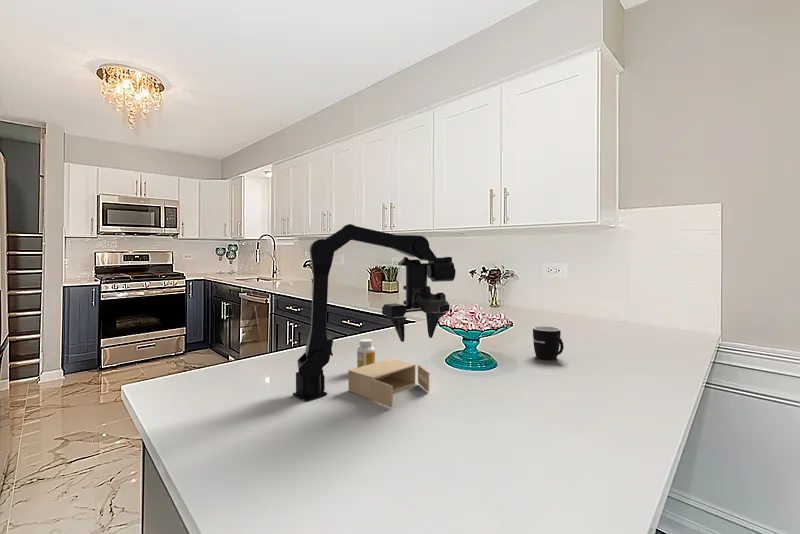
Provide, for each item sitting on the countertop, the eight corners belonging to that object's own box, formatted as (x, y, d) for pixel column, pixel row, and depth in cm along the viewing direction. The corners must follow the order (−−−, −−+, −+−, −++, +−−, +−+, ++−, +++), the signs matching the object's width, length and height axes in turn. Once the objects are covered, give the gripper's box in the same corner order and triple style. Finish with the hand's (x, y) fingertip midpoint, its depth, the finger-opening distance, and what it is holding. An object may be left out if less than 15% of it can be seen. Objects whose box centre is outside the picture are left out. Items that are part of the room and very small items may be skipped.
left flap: (371, 399, 104) (371, 379, 104) (373, 398, 104) (372, 378, 104) (391, 407, 98) (391, 386, 98) (393, 406, 99) (392, 385, 98)
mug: (527, 356, 147) (527, 327, 147) (547, 353, 151) (547, 325, 150) (551, 364, 136) (552, 333, 136) (572, 361, 139) (573, 331, 139)
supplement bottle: (376, 369, 131) (376, 338, 131) (373, 374, 126) (373, 342, 125) (359, 369, 131) (359, 338, 131) (355, 374, 126) (355, 341, 126)
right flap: (429, 391, 109) (429, 372, 109) (427, 391, 109) (427, 372, 109) (419, 382, 117) (419, 364, 116) (417, 382, 116) (417, 364, 116)
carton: (373, 399, 105) (373, 377, 104) (348, 390, 111) (348, 370, 111) (415, 384, 116) (415, 364, 116) (390, 377, 123) (390, 358, 123)
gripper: (403, 286, 102) (403, 350, 103) (462, 282, 112) (462, 340, 113) (380, 283, 112) (381, 341, 112) (437, 280, 122) (437, 333, 122)
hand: (416, 339), depth 115 cm, fingers open, 9 cm apart
